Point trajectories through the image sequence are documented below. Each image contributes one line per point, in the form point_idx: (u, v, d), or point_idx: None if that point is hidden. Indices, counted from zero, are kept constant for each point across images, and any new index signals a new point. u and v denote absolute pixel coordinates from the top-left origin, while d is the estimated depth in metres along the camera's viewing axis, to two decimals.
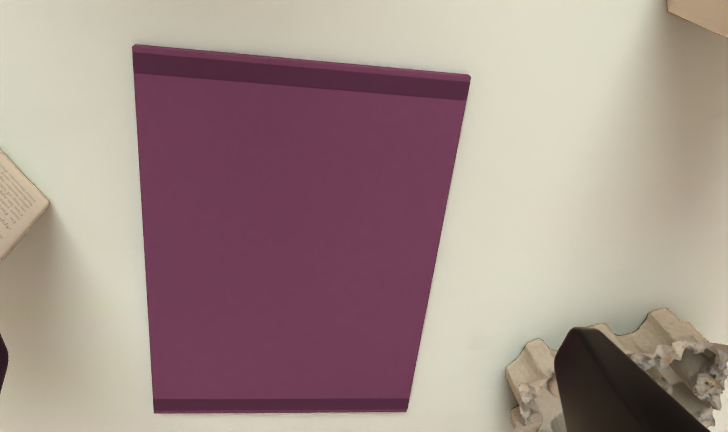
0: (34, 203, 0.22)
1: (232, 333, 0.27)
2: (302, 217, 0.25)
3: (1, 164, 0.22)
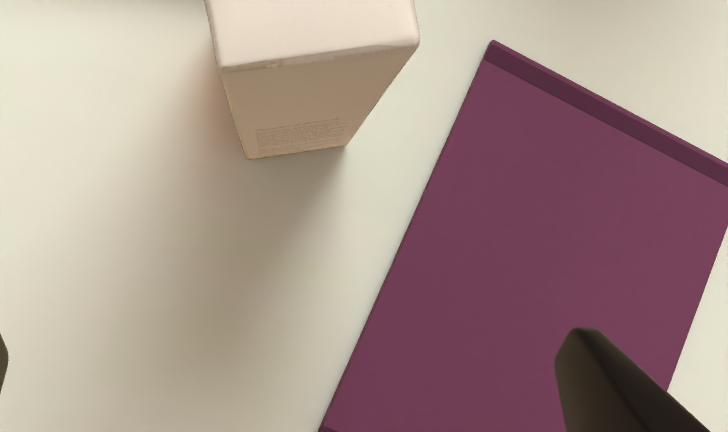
0: None
1: (451, 364, 0.23)
2: (570, 250, 0.24)
3: None
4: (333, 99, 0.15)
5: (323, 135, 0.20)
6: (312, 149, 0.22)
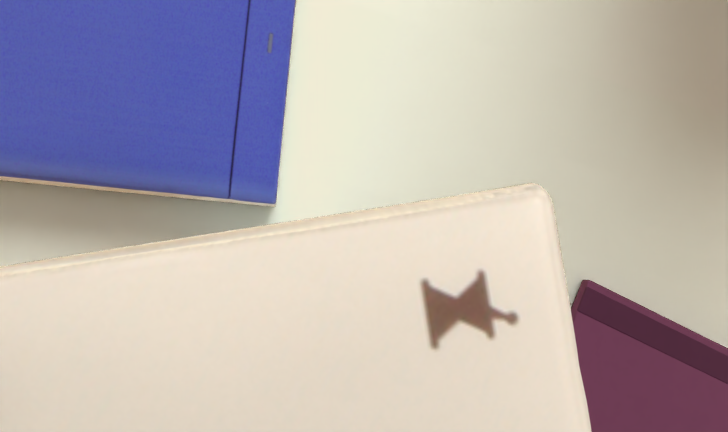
0: None
1: None
2: None
3: None
4: None
5: None
6: None
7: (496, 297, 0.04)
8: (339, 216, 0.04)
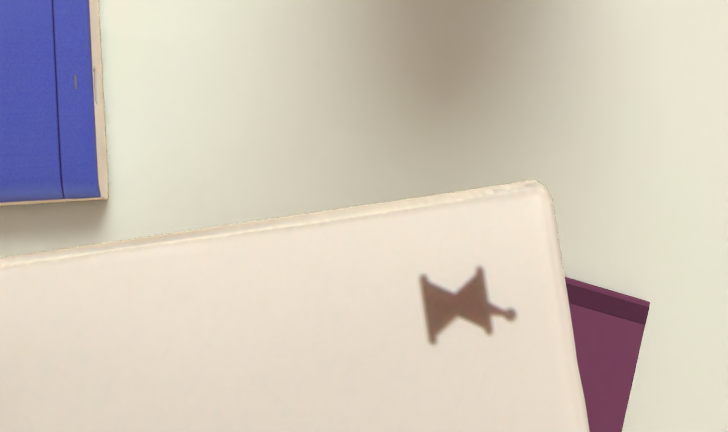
0: None
1: None
2: None
3: None
4: None
5: None
6: None
7: (495, 294, 0.04)
8: (338, 211, 0.04)
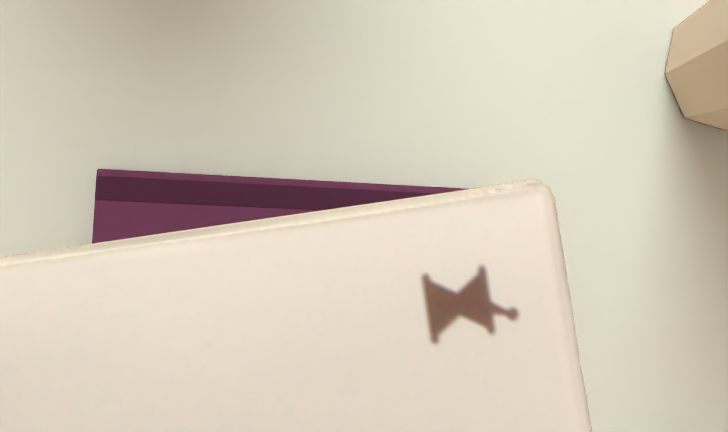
0: None
1: None
2: None
3: None
4: None
5: None
6: None
7: (497, 293, 0.04)
8: (340, 210, 0.04)
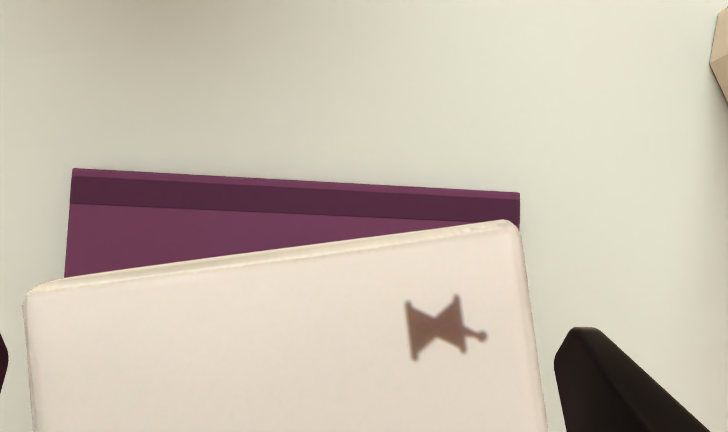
0: None
1: None
2: None
3: None
4: None
5: None
6: None
7: (469, 318, 0.05)
8: (337, 245, 0.05)
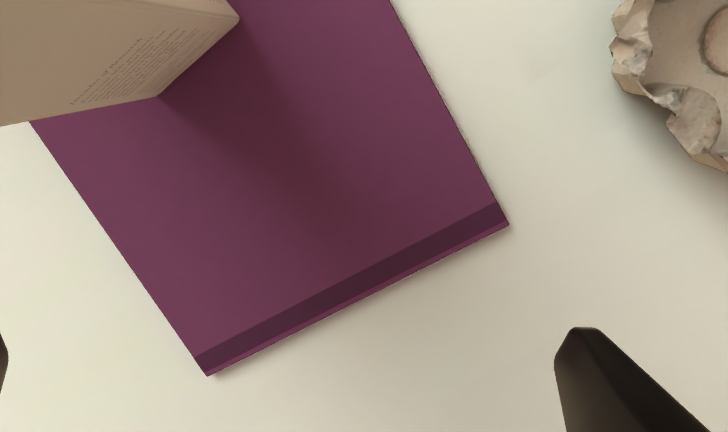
0: (223, 4, 0.18)
1: (213, 224, 0.21)
2: None
3: None
4: (64, 51, 0.11)
5: (175, 46, 0.16)
6: (205, 50, 0.19)
7: None
8: None
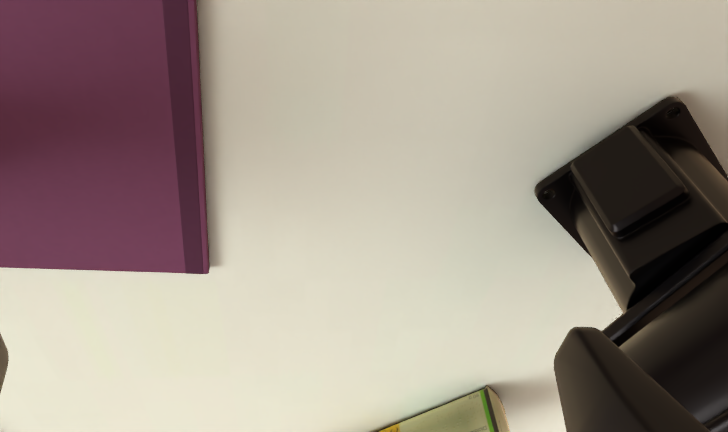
0: None
1: (72, 202, 0.22)
2: None
3: None
4: None
5: None
6: None
7: None
8: None
